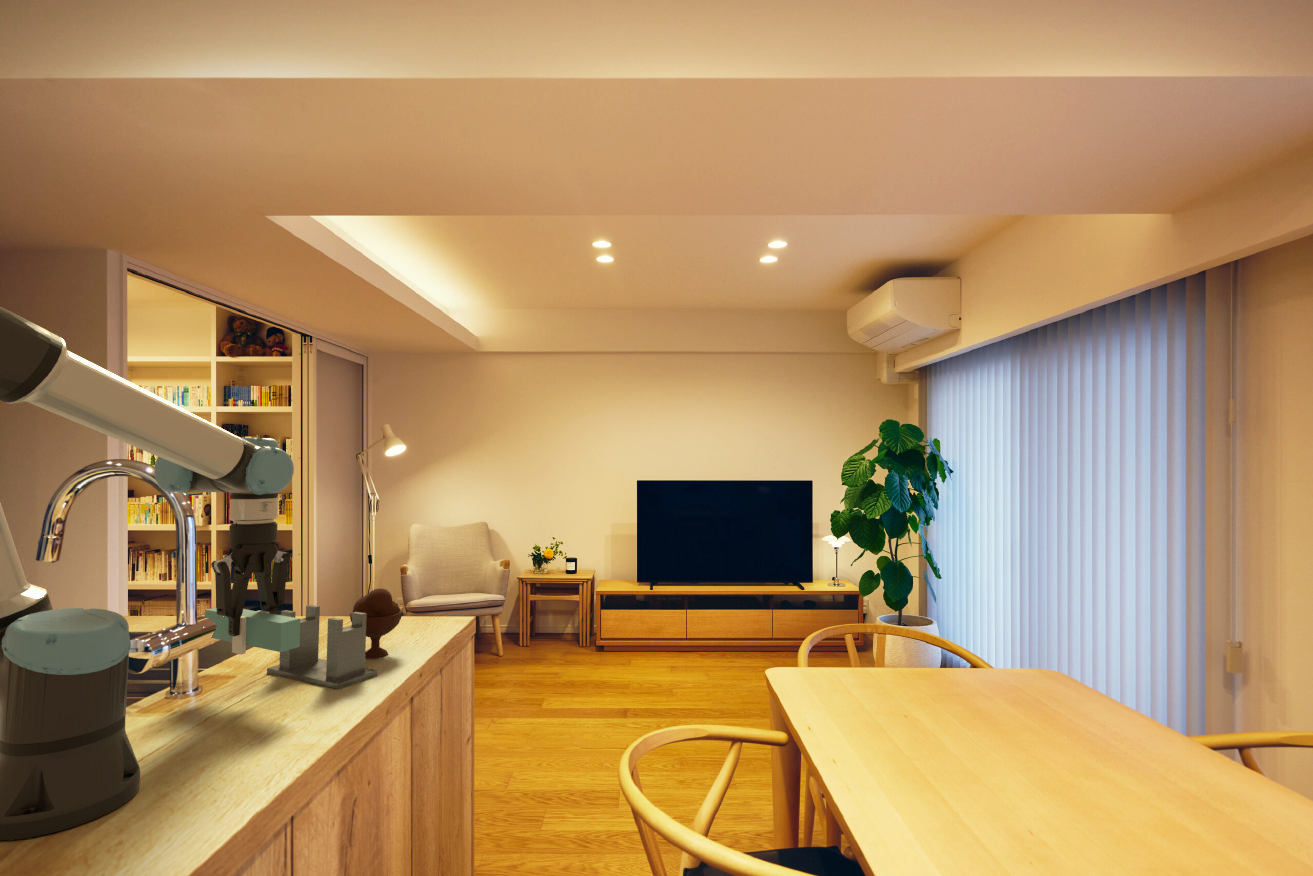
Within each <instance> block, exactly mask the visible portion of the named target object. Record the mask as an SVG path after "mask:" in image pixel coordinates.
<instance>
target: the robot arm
mask: <svg viewBox="0 0 1313 876" xmlns="http://www.w3.org/2000/svg"><path fill="white" fill-rule="evenodd" d="M0 401H1V402H4V403H6V404H11V405H14V404H17V403H18V404H19V403H24V402H26V403H28V404H31V405H33V406H36V407H39V408H41V409H43V410H46V411H47V412H51V413H52V414H55V415H58V416H60V417H62V418H65V419H67V420H70V421H72V422H74V423H77V424H79V425H81V426H84V427H87V428H89V429H90V430H91V429H92V430H94V431H96V432H98V433H101V434H103V435H106V436H108V437H111V438H113V439H114V440H118V441H120V442H123V443H125V444H128V445H130V446H132V447H134V448H137V449H139V450H141V451H143V452H146V453H149V454H151V455H153V456H156V457H157V458H156V460H155V463H154V478H155V481H156V483H157V485H158V487H159V488H160V489H161V490H163V491H164V492H167V493H181V494H188V493H225V494H226V493H228V494H229V496H230V497H229V499H230V501H229V519H228V520H229V521H232V522H233V523H231V524H230V525H229V528H228V531H229V533H228V535H229V536H228V543H229V549H228V552H227V555H226V557H223V558H221V559H220V560H213V561H211V564H210V565H211V568H212V571H213V572H214V575H215V576H214V577H215V579H214V580H215V602H216V607H215V608H217V614H218V615H221V616H227V617H228V619H229V624H228V627H229V628H228V629H229V630H228V633H229V635H230V636H232V642H231V644H232V645H231V653H234V654H237V655H245V654H246V651H247V650H246V649H247V645H246V618H247V617H244V616H242V613H243V609H245V607H244V606H245V602H246V596H247V591H248V588H249V584H250V583H249V582H250V580H251V579H252V578H253V575H254V576H255V580H256V585H257V594H258V599H259V605H260V609H261V610H257V611H258V612H264V613H270V614H274V612H276V611H277V610H278V609H279V606H282V605H284V604H285V596H286V585H287V572H288V565H289V562H290V560H291V557H292V554H291V553H290V552H284V551H280V550H279V549H278V546H277V544H276V542H277V540H278V523H277V521H274V520H276V519H277V518H278V508H279V507H278V506H279V492H281V491H283V490H284V489H285V488H287V487H288V485H290V483H291V480H292V479H293V475H294V471H295V468H294V461H293V460H292V457H291V456H290V455H289V454H288V453H287V451H285V450H283V449H282V448H280V447H279V442H278V441H277V440H276V439H274V438H270V437H267V438H266V437H240V436H238V435H235V434H233V433H231V432H230V431H227V430H226V429H223V428H222V427H220V426H218V425H216V424H214V423H212V422H210V421H208V420H206V419H204V418H202V417H200V416H198V415H196V414H194V413H192V412H190V411H188V410H186V409H185V408H182V407H180V406H178V405H176V404H174V403H173V402H170V401H169V400H166V399H164V398H162V397H160V396H158V395H156V394H155V393H152V392H151V391H149V390H147V389H145V388H142V387H141V386H138V385H137V384H135V383H134V382H131V381H129V380H127V379H125V378H123V377H121V376H119V375H118V374H115V373H113V372H112V371H109V370H107V369H105V368H103V367H101V366H99V365H98V364H95V363H94V362H92V361H89V360H87V359H85V358H83V357H81V356H79V355H77V354H76V353H73V352H71V351H70V350H68V349H67V345H66V342H65V340H64V339H63V338H62V337H61V336H59V335H58V334H56V333H53V332H52V331H49V330H47V329H46V328H44V327H42V326H40V325H38V324H35V323H34V322H32V321H30V320H28V319H26V318H24V317H22V316H21V315H18V314H17V313H14V312H12V311H10V310H8V309H6V308H5V307H2V306H0ZM155 468H156V469H155ZM157 469H158V470H157ZM159 470H160V471H159ZM167 475H168V476H169V477H168V476H167ZM173 481H174V482H173ZM177 485H178V486H179V488H178V486H177ZM181 490H182V491H183V492H184V493H183V492H182V491H181ZM14 541H15V540H14V538H13V535H12V533H11V530H10V527H9V524H8V521H7V518H6V514H5V512H4V508H3V506H2V503H1V501H0V841H12V840H13V841H14V840H22V839H30V838H35V837H40V836H44V835H49V834H53V833H57V832H61V831H64V830H67V829H71V828H73V827H76V826H80V825H83V824H85V823H88V822H91V821H93V820H96V819H98V818H100V817H102V816H104V815H107V814H109V813H111V812H113V811H115V810H116V809H119V808H120V807H121V806H124V804H126V803H127V802H128V801H130V800H131V799H133V798H134V797H135V795H136V794H137V793H138V792H139V790H140V785H141V767H140V765H139V763H138V760H137V757H136V754H135V752H134V750H133V747H132V744H131V743H130V740H129V736H128V734H127V732H126V718H127V717H126V714H127V697H128V696H127V695H128V677H129V675H128V674H129V658H130V657H129V656H130V651H131V637H130V630H129V628H130V626H129V622H128V620H127V619H126V618H125V616H123V615H121V614H120V613H118V612H115V611H111V610H108V609H104V608H94V607H93V608H85V609H84V608H83V607H69V608H58V609H57V608H56V609H53V605H52V603H51V600H50V597H49V594H48V593H49V592H48V590H47V589H46V588H44V587H41V586H38V585H35V584H32V583H30V582H28V581H27V577H26V574H25V571H24V569H23V566H22V562H21V559H20V557H19V553H18V551H17V548H16V545H15V542H14ZM272 562H273V564H272V567H271V563H272ZM232 566H233V567H234V569H233V575H232V574H231V571H230V570H231V569H232ZM232 577H233V583H232Z"/></svg>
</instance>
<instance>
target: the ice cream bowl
mask: <svg viewBox="0 0 1313 876" xmlns="http://www.w3.org/2000/svg"><path fill="white" fill-rule="evenodd" d="M353 612H361V613H367V616H366V638H370V641H371V642H370V648H369V649H367V650H366V651H365V660H378V659H380V658H381V659H382V658H385V657H387V656H388V655H389V653H388V650H386V649H385V648H382V647H380V640H381V638H382V637H383V636H386V635H388V634H389V633H390V632H391V631H393V630H394V629H396V627H397V626H398V625H399V624H400V621H401V619H402V616H403V611H402V609H401V608H400V606H399V604H398V603H397V602H396V601H394V600H393V596H392V593H391V592H390V591H389V590H388V589H385V588H374V589H373V590H371V591H370V592H368V593H367V594H366V595H363V596H362V597H360V598H359V599H357V601H355V603H354V604H353V608H352V612H351V613H349V617H350V622H351V623H352V613H353Z"/></svg>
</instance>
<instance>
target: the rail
mask: <svg viewBox="0 0 1313 876" xmlns="http://www.w3.org/2000/svg"><path fill="white" fill-rule="evenodd" d="M258 611H259V610H256V611H255V610H251V609H246V608H243V613H242V616H244V617H247V618H246V646H249V647H253V648H258V649H262V650H263V649H264V650H268V651H274V652H278V653H280V652H283V651H287V650H290V649H294V648H297V647H300V619H301V618H299V617H295V618H294V617H288V616H282V615H281V614H275V613H273V614H270V613H264V612H258ZM205 616H206V617H205ZM205 618H209V620H211V621H212V622H214V623H215V624H216V625H217V628H216V630H215V631H214V633H213V635H212V637H211V639H215V640H220V641H223V642H229V643H232V636H230V635H229V633H228V630H229V629H228V628H229V627H228V624H229V619H228V617H227V616H224V617H223V616H221V615H218V614H217V608H216V607H214V608H208V609H205V610H204V619H205Z"/></svg>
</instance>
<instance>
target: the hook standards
mask: <svg viewBox="0 0 1313 876" xmlns="http://www.w3.org/2000/svg"><path fill="white" fill-rule="evenodd" d="M320 608H321V607H320V605H313V604H308V605H305V617H303V618H300V647H297V648H294V649H290V650H287V651H283V652H279V664H276V665H273V666H270V667H267V668H266V673H267V674H270V675H273V676H274V675H275V676H278V677H283V678H287V679H291V680H296V681H300V682H304V683H309V684H313V685H316V686H317V685H318V686H321V687H326V688H330V689H333V690H340V689H343V688H346V687H348V686H353V685H354V684H357V683H360V682H362V681H365V680H369V679H371V678H373V677H376V676H378V670H377V669H376V670H375V669H372V668H367V667H366V659H365V652H366V651H367V650H366V648H367V646H366V645H367V644H366V642H367V637H366V616H367V613H361V612H353V611H352V612H351V613H352V622H351V625H347V626H344V619H343V618H338V617H329V618H327V637H326V638H327V639H326V640H327V641H326V659H322V658H319V648H320V647H319V645H320V640H319V639H320V619H321V618H320V614H321V613H320V612H321V609H320ZM280 615H282V616H288V617H294V618H296V611H295V610H294V611H293V610H287V609H285V610H281V611H280ZM343 626H344V627H343Z"/></svg>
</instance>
